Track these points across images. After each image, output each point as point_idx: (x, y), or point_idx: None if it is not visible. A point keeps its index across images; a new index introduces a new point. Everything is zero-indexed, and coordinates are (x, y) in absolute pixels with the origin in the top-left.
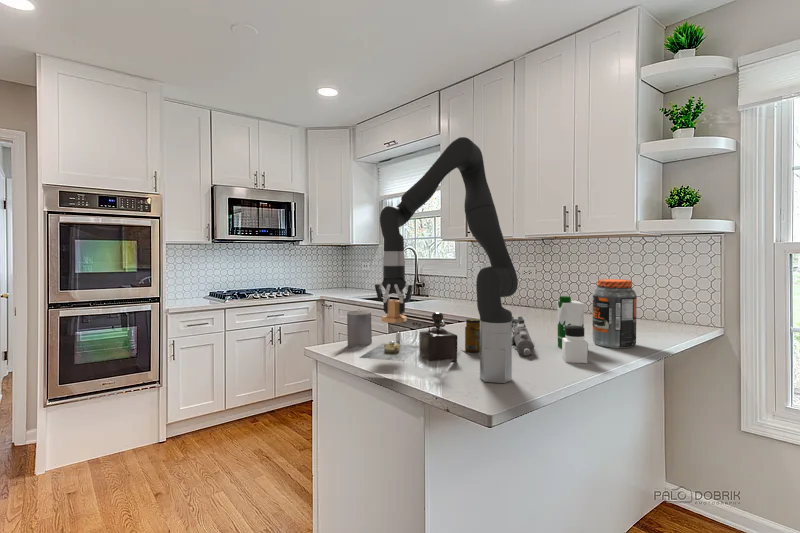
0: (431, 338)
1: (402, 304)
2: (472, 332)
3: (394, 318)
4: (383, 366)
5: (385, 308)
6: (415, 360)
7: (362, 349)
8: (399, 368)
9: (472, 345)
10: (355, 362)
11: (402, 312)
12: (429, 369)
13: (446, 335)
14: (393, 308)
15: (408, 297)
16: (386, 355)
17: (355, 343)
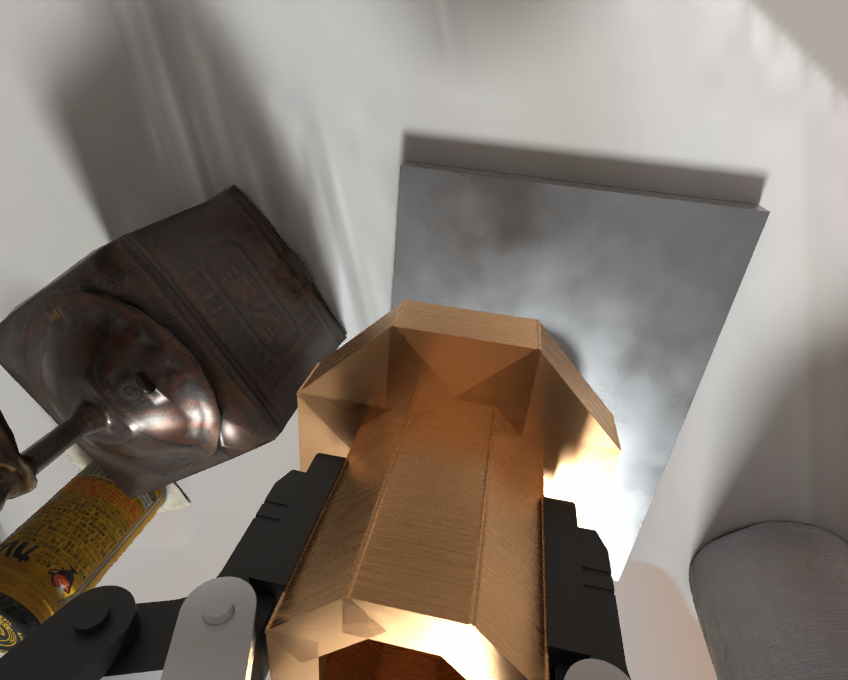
0: (118, 240)
1: (246, 573)
2: (34, 531)
3: (405, 330)
4: (540, 74)
5: (573, 557)
6: (353, 274)
7: (746, 505)
8: (409, 38)
9: (93, 476)
10: (790, 159)
11: (303, 472)
12: (207, 56)
13: (31, 315)
14: (409, 490)
15: (9, 663)
16: (549, 298)
17: (816, 550)
